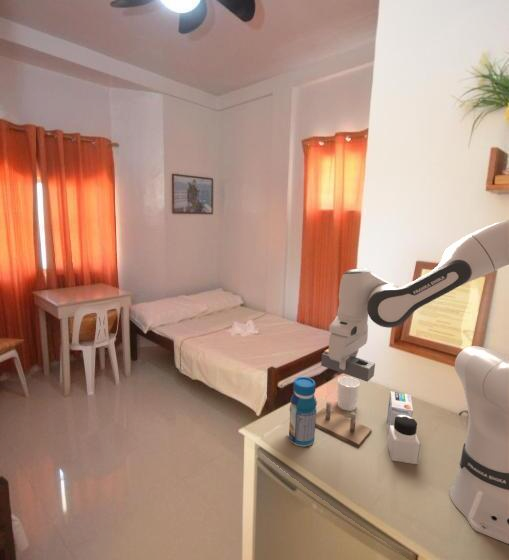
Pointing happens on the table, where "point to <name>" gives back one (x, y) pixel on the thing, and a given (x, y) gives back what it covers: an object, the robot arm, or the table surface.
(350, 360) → the grey block with holes
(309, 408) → the beverage bottle
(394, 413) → the light bulb box
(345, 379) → the white cup
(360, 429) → the board
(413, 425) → the medicine bottle
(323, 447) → the table surface
